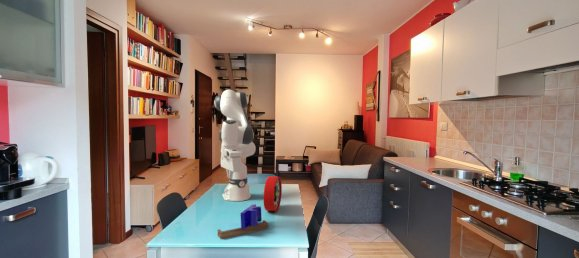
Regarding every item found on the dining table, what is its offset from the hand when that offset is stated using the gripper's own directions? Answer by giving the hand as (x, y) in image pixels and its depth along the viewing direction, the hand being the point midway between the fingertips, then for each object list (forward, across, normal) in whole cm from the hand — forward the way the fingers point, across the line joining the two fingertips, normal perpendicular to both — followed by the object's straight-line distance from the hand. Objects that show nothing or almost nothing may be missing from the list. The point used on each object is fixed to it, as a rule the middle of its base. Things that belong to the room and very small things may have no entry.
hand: (230, 178), depth 146 cm
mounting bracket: (+17, +12, +4) cm, 21 cm away
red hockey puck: (+23, -6, +29) cm, 38 cm away
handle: (+23, +18, +1) cm, 29 cm away
